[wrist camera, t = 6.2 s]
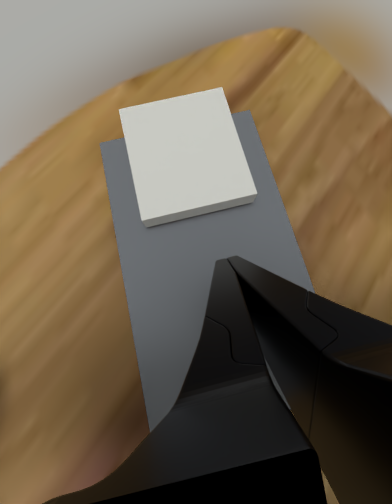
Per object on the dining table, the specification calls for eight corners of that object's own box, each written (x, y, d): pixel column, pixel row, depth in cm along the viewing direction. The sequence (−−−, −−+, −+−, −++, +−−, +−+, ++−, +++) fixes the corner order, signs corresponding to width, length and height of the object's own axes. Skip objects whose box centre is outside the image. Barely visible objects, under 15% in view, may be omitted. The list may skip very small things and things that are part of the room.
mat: (342, 388, 14) (350, 393, 13) (155, 439, 13) (152, 447, 13) (247, 118, 18) (249, 109, 17) (104, 150, 18) (99, 143, 17)
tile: (257, 193, 14) (221, 87, 16) (141, 220, 14) (118, 109, 16) (252, 204, 16) (220, 105, 17) (147, 229, 15) (125, 126, 17)
